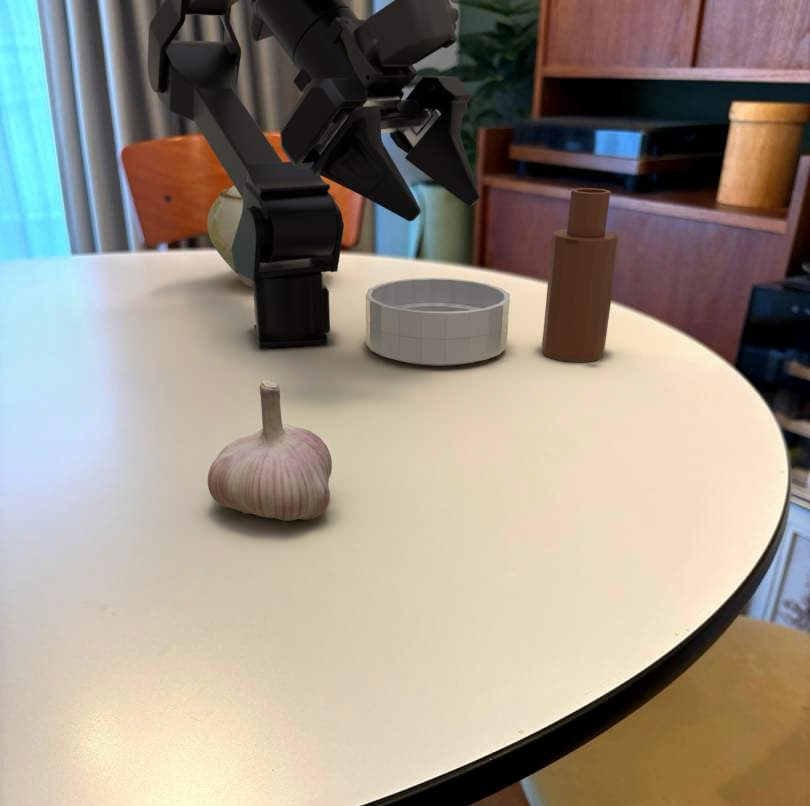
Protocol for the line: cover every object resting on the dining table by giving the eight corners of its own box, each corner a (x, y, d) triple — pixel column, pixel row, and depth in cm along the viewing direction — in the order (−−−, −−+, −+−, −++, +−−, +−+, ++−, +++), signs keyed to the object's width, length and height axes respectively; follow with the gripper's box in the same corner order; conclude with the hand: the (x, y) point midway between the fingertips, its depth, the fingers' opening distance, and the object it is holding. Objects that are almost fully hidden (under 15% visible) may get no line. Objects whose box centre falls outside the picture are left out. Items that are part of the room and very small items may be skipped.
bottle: (589, 366, 73) (610, 197, 66) (531, 355, 76) (545, 191, 69) (612, 351, 77) (635, 190, 70) (556, 340, 80) (572, 184, 73)
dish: (382, 374, 71) (382, 316, 68) (355, 332, 82) (354, 281, 79) (525, 365, 73) (530, 308, 71) (480, 325, 84) (483, 275, 82)
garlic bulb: (347, 529, 47) (344, 396, 43) (217, 546, 45) (201, 409, 41) (321, 474, 54) (315, 353, 50) (206, 487, 52) (191, 363, 48)
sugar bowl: (345, 299, 93) (341, 153, 85) (209, 303, 91) (193, 154, 83) (331, 263, 110) (326, 138, 102) (216, 265, 108) (203, 138, 100)
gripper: (304, -75, 50) (457, 137, 50) (453, -44, 64) (572, 122, 64) (220, 73, 57) (354, 256, 58) (369, 72, 71) (476, 220, 72)
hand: (447, 209), depth 63 cm, fingers open, 9 cm apart
